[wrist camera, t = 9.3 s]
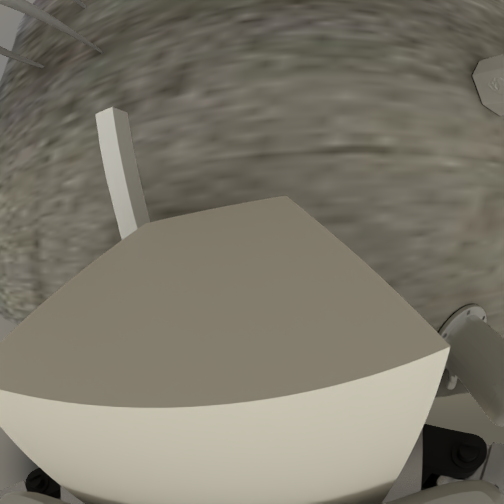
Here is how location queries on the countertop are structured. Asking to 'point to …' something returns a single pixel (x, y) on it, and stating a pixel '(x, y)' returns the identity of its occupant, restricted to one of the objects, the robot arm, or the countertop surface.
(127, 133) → the rail
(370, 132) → the countertop surface
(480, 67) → the jar
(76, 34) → the juicer
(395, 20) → the countertop surface
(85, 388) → the box
